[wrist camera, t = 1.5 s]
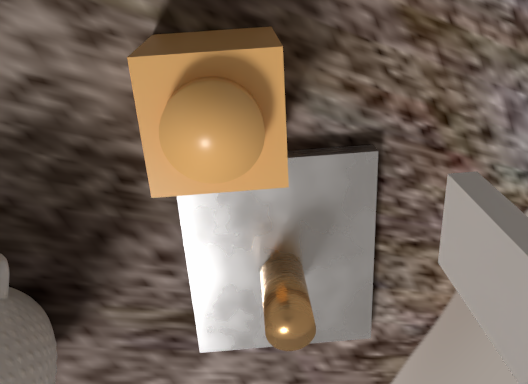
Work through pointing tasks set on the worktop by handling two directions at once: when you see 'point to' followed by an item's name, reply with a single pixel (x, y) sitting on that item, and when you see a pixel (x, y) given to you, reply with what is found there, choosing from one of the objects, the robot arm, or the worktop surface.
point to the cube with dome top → (211, 111)
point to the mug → (24, 337)
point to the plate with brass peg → (286, 255)
